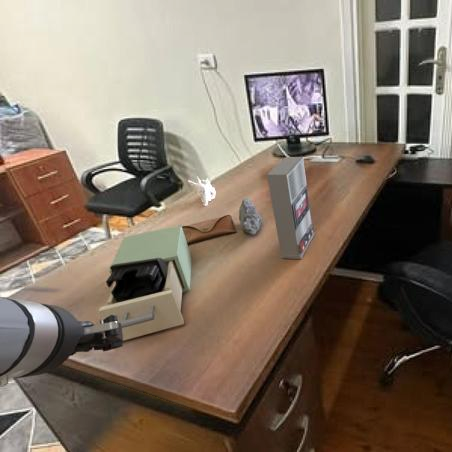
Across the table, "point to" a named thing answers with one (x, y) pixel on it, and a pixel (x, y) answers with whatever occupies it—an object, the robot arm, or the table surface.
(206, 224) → the sunglasses case
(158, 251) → the cabinet
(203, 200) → the white figurine
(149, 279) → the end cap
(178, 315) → the drawer
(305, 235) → the cassette tape recorder
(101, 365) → the table surface
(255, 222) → the mineral rock
